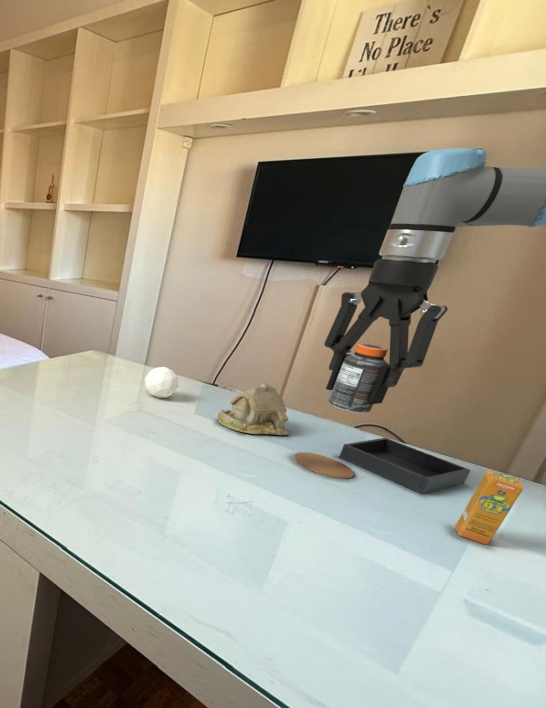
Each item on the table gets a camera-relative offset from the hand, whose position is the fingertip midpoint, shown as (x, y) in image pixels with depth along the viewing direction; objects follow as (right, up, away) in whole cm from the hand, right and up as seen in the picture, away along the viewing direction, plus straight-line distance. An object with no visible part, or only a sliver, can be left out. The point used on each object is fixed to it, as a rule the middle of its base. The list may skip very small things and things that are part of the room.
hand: (352, 395), depth 80 cm
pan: (+13, -14, +5) cm, 20 cm away
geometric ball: (-19, -1, +35) cm, 40 cm away
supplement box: (+6, -21, -13) cm, 25 cm away
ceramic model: (-5, -7, +21) cm, 22 cm away
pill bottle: (0, -2, +1) cm, 2 cm away
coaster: (-1, -13, +5) cm, 14 cm away
